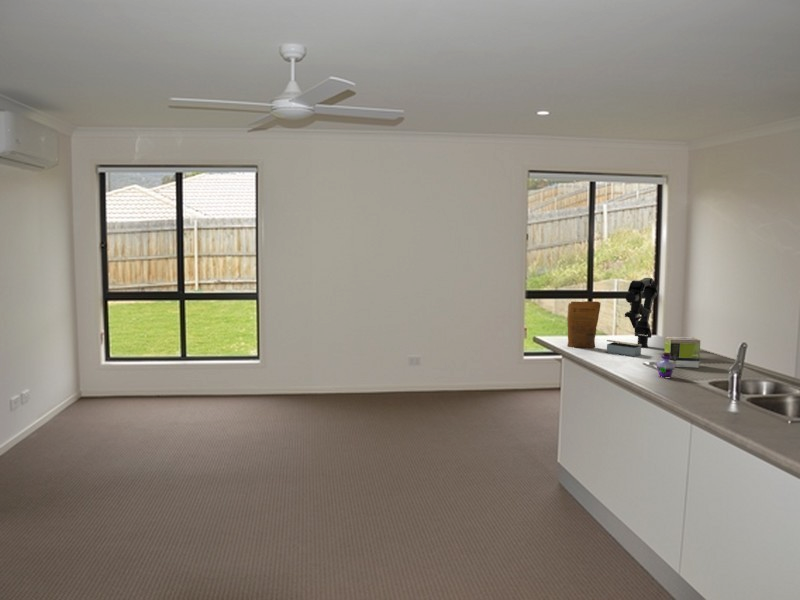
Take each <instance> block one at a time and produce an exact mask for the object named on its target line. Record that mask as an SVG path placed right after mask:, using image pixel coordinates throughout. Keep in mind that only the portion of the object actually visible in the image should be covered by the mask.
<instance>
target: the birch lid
mask: <svg viewBox="0 0 800 600" xmlns="http://www.w3.org/2000/svg"><path fill="white" fill-rule="evenodd" d="M606 342H609V343H613V342H616V343H623V344H631V345H639V346H642V344H638V343H635V342H634V343H633V342H626V341H625V342H624V341H618V340H612V339H606Z"/></svg>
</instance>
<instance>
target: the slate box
mask: <svg viewBox="0 0 800 600" xmlns="http://www.w3.org/2000/svg"><path fill="white" fill-rule="evenodd" d="M610 353H613V354H612V355H617V354H619V355H618V356H624V355H625V356H624V357H631V358H636V357H638V356H640V355H641V353H642V347H641V346H638V345H631V344H624V343H616V342H609V343H607V344H606V354H610Z"/></svg>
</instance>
